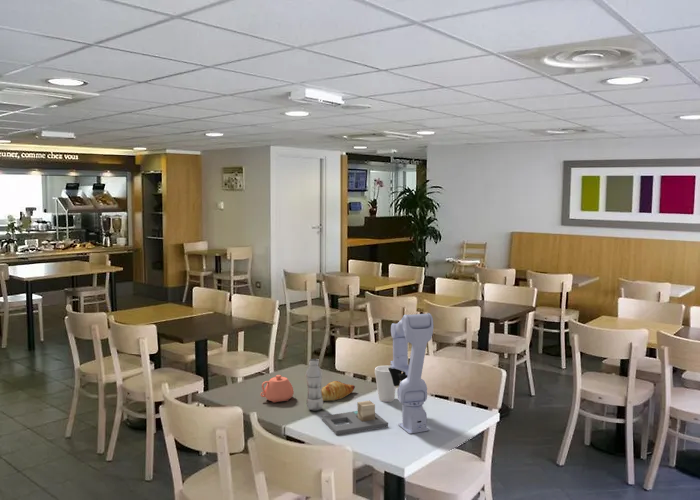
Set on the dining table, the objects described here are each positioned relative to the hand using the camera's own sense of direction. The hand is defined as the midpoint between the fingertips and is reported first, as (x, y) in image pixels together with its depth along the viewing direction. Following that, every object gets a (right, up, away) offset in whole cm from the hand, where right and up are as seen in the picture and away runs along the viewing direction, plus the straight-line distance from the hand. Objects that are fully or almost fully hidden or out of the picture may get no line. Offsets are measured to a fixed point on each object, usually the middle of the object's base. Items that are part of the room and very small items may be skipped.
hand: (400, 388), depth 235 cm
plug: (-14, -11, -9) cm, 19 cm away
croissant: (-27, -9, +21) cm, 35 cm away
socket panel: (-18, -11, -10) cm, 23 cm away
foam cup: (-5, -8, +16) cm, 19 cm away
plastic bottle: (-34, -10, +5) cm, 35 cm away
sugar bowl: (-50, -9, +18) cm, 54 cm away
